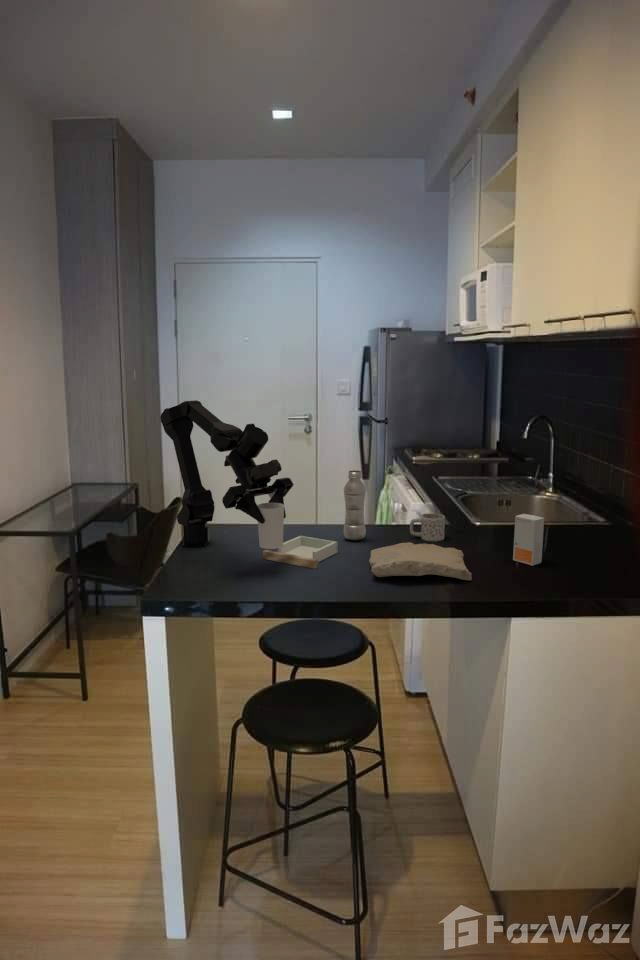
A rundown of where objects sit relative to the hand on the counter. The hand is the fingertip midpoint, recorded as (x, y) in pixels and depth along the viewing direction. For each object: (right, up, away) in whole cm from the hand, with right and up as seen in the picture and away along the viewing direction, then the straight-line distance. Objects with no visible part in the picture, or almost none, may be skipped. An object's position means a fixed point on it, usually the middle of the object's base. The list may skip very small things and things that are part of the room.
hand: (274, 520), depth 162 cm
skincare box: (+64, -11, +10) cm, 66 cm away
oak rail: (+3, -12, +10) cm, 16 cm away
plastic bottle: (+21, -8, +31) cm, 38 cm away
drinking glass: (-1, -7, +2) cm, 7 cm away
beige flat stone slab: (+35, -13, +3) cm, 38 cm away
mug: (+42, -7, +32) cm, 54 cm away
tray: (+8, -10, +17) cm, 21 cm away
